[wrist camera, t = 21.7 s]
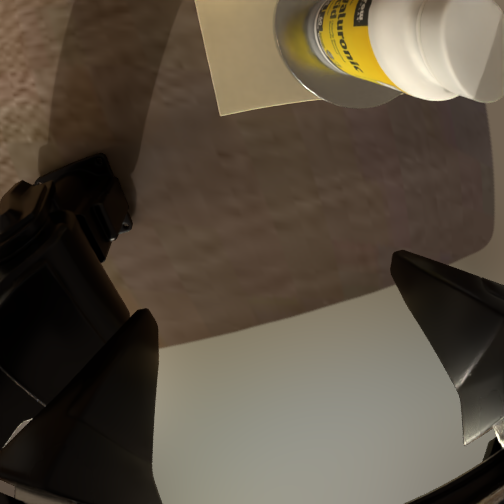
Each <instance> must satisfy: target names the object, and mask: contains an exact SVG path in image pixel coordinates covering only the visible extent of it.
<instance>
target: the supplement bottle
mask: <svg viewBox="0 0 504 504" xmlns="http://www.w3.org/2000/svg"><path fill="white" fill-rule="evenodd" d="M314 32H315V38H316V42H317V44H318V47H319V49H320V51H321V52H322V54H323V56H324V57H325V58H326V59H327V60H328V62H329V63H331V64H332V65H333V66H334V67H335V68H337V69H338V70H340V71H342V72H344V73H346V74H349V75H351V76H354V77H357V78H361V79H364V80H367V81H371V82H374V83H377V84H380V85H383V86H386V87H389V88H392V89H395V90H398V91H401V92H404V93H406V94H409V95H411V96H414V97H418V98H421V99H425V100H431V101H443V100H449V99H452V98H455V97H457V96H459V95H460V96H463V97H466V98H469V99H472V100H475V101H477V102H481V103H492V102H495V101H497V100H499V99H500V98H502V97H503V96H504V12H503V11H502V9H501V8H500V7H499V6H498V5H497V3H496V2H495V1H494V0H326V1H325V2H324V3H323V4H322V5H321V7H320V8H319V10H318V12H317V15H316V18H315V24H314Z"/></svg>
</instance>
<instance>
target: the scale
mask: <svg viewBox="0 0 504 504" xmlns="http://www.w3.org/2000/svg"><path fill="white" fill-rule="evenodd" d="M276 2H277V0H195V5H196V9H197V14H198V18H199V23H200V27H201V32H202V36H203V41H204V46H205V50H206V55H207V59H208V64H209V68H210V73H211V77H212V82H213V86H214V91H215V95H216V100H217V104H218V109H219V113H220V116H224V115H228V114H233V113H238V112H243V111H248V110H253V109H259V108H265V107H270V106H277V105H283V104H290V103H297V102H304V101H312V100H320V99H321V98H319V97H317V96H315V95H314V94H312V93H311V92H309V91H308V90H307V89H305V88H304V87H303V86H302V85H301V84H300V83H298V81H297V80H296V79H295V78H294V77H293V76H292V75H291V73H290V72H289V71H288V69H287V68H286V67H285V65H284V63H283V61H282V59H281V58H280V55H279V53H278V50H277V48H276V44H275V40H274V35H273V13H274V8H275V5H276ZM401 94H403V93H401Z"/></svg>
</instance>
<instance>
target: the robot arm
mask: <svg viewBox="0 0 504 504" xmlns="http://www.w3.org/2000/svg"><path fill="white" fill-rule="evenodd" d="M97 158H101V159H102V163H99V162H98V161H97ZM39 182H41V183H42V184H39ZM128 209H129V205H128V203H127V200H126V198H125V195H124V193H123V190H122V188H121V185H120V183H119V180H118V178H116V177H115V176H113V173H112V170H111V168H110V165H109V162H108V160H107V157H106V155H105V154H103V153H97V154H94V155H92V156H89V157H87V158H84V159H81V160H79V161H76V162H74V163H71V164H69V165H67V166H64V167H62V168H60V169H57V170H55V171H53V172H50V173H48V174H46V175H44V176H41V177H39V178H38V179H37V180H36V181H35V185H34V184H33V185H31V184H29V183H27V182H25V181H23V180H22V181H20V182H18V183H16V184H15V185H14V186H13V187H12V188H11V189H10V190H9V191H8V192H7V193H6V194H5V195H4V196H3V197H2V199H1V201H0V480H2V481H4V482H6V483H8V484H11V485H13V486H15V496H14V498H13V497H11V496H8V495H6V494H3V493H1V492H0V504H162V501H161V498H160V495H159V493H158V490H157V487H156V484H155V481H154V477H153V472H152V453H153V452H152V451H153V431H154V414H155V400H156V387H157V376H158V365H159V346H158V325H157V323H156V321H155V319H154V317H153V316H152V314H151V312H150V311H149V309H147V308H145V309H140V310H137V311H136V312H135V313H134V314H133V315H132V316H131V317H130V313H129V311H128V309H127V307H126V305H125V303H124V302H123V300H122V298H121V297H120V295H119V294H118V292H117V290H116V289H115V287H114V285H113V284H112V282H111V280H110V278H109V277H108V275H107V273H106V272H105V270H104V268H103V266H102V265H101V263H102V262H104V261H105V259H106V257H107V254H108V251H109V248H110V246H111V243H112V241H114V240H116V239H117V237H118V235H119V234H121V233H125V232H128V231H130V230H131V229H132V226H133V222H132V220H131V217H130V215H129V213H128ZM124 223H126V224H128V225H129V226H125V225H124ZM390 271H391V275H392V277H393V279H394V281H395V283H396V285H397V287H398V289H399V291H400V293H401V295H402V297H403V299H404V301H405V303H406V305H407V307H408V308H409V310H410V311H411V313H412V314H413V316H414V318H415V319H416V321H417V322H418V324H419V325H420V327H421V329H422V330H423V332H424V334H425V335H426V337H427V339H428V340H429V342H430V344H431V345H432V347H433V349H434V350H435V352H436V354H437V356H438V357H439V359H440V361H441V363H442V364H443V366H444V368H445V370H446V371H447V373H448V375H449V377H450V379H451V381H452V382H453V384H454V386H455V388H456V390H457V392H458V394H459V397H460V402H461V412H462V425H463V443H464V446H466V445H468V444H469V443H471V442H472V441H474V440H476V439H477V438H479V437H481V436H482V435H484V434H485V433H487V432H488V431H490V430H491V429H494V431H495V433H496V435H497V437H495V438H494V439H493V440H491V441H490V442H489V443H488V446H487V449H486V452H485V455H484V458H483V461H482V462H481V463H480V464H478V465H477V466H475V467H473V468H472V469H470V470H469V471H467V472H465V473H464V474H462V475H460V476H458V477H457V478H455V479H453V480H451V481H449V482H448V483H446V484H444V485H442V486H440V487H438V488H436V489H434V490H432V491H430V492H428V493H426V494H424V495H422V496H420V497H418V498H416V499H413V500H411V501H409V502H406V503H405V504H504V285H501V284H499V283H496V282H493V281H490V280H488V279H485V278H480V277H479V276H476V275H473V274H471V273H468V272H465V271H462V270H459V269H457V268H454V267H451V266H449V265H446V264H443V263H440V262H437V261H434V260H431V259H429V258H426V257H423V256H420V255H417V254H414V253H411V252H408V251H405V250H400V251H396V252H394V253H393V255H392V262H391V268H390ZM31 419H32V420H31ZM28 420H31V421H30V422H29V423H28V424H27V425H26V426H25V427H24V428H23V429H22V430H21V431H20V432H19V433H18V434H17V435H16V436H15V437H14V438H13V439H12V440H11V441H10V442H9V443H8V444H7V442H8V441H9V439H10V438H11V437H12V435H13V433H14V432H15V431H16V429H17V428H18V427H19V426H20V425H21V424H22V423H23V422H25V421H28ZM6 444H7V445H6ZM5 445H6V446H5Z"/></svg>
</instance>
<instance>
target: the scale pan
mask: <svg viewBox="0 0 504 504" xmlns="http://www.w3.org/2000/svg"><path fill="white" fill-rule="evenodd" d="M325 1H326V0H277V2H276V5H275V8H274V13H273V35H274V40H275V44H276V48H277V50H278V53H279V55H280V58H281V59H282V61H283V63H284V65H285V67H286V68H287V69H288V71H289V72H290V73H291V75H292V76H293V77H294V78H295V79H296V80H297V81H298V83H300V84H301V85H302V86H303V87H304V88H305V89H307V90H308V91H309V92H311V93H312V94H314V95H315V96H317V97H319V98H321V99H323V100H325V101H327V102H330V103H332V104H335V105H338V106H342V107H346V108H355V109H360V108H371V107H376V106H379V105H383V104H385V103H387V102H390V101H391V100H393V99H395V98H396V97H398V96H399V95H400V94H401V93H403V92H401V91H398V90H395V89H392V88H389V87H386V86H383V85H380V84H377V83H374V82H371V81H367V80H364V79H361V78H357V77H354V76H351V75H349V74H346V73H344V72H342V71H340V70H338V69H337V68H335V67H334V66H333V65H332V64H331V63H329V62H328V60H327V59H326V58H325V57H324V56H323V54H322V52H321V51H320V49H319V47H318V44H317V42H316V38H315V32H314V24H315V18H316V15H317V12H318V10H319V8H320V7H321V5H322V4H323V3H324V2H325Z"/></svg>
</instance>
